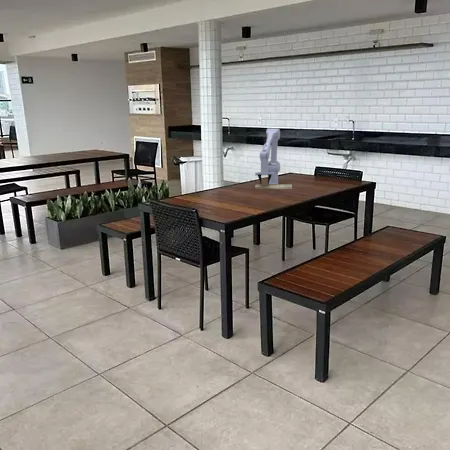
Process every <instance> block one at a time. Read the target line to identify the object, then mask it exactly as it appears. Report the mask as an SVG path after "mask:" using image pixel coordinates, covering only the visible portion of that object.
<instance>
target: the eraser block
mask: <svg viewBox="0 0 450 450" xmlns="http://www.w3.org/2000/svg"><path fill="white" fill-rule="evenodd" d="M260 185H261V187H268V176H266V177H262V176H261V184H260Z"/></svg>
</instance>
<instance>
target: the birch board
mask: <svg viewBox="0 0 450 450" xmlns="http://www.w3.org/2000/svg"><path fill="white" fill-rule="evenodd" d="M254 189H255V190H292V189H293V185H292V184H269V185H268V187H261V184H255V186H254Z"/></svg>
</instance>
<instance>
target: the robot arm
mask: <svg viewBox="0 0 450 450" xmlns="http://www.w3.org/2000/svg"><path fill="white" fill-rule="evenodd" d="M265 134H266V142H265V143H264V144H263V147H262V149H261V151H260V152H259V160H260V172H255V173H254V176H257V178H258V180H259V183H260V184H259V185H261V178H262V176H267V177H268V185H279V173H280V171H281V162H279V161H278V160H277V159H278V141H279V140H280V138H281V130H280V128H267V129H266V130H265ZM269 158H270V160H269Z"/></svg>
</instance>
